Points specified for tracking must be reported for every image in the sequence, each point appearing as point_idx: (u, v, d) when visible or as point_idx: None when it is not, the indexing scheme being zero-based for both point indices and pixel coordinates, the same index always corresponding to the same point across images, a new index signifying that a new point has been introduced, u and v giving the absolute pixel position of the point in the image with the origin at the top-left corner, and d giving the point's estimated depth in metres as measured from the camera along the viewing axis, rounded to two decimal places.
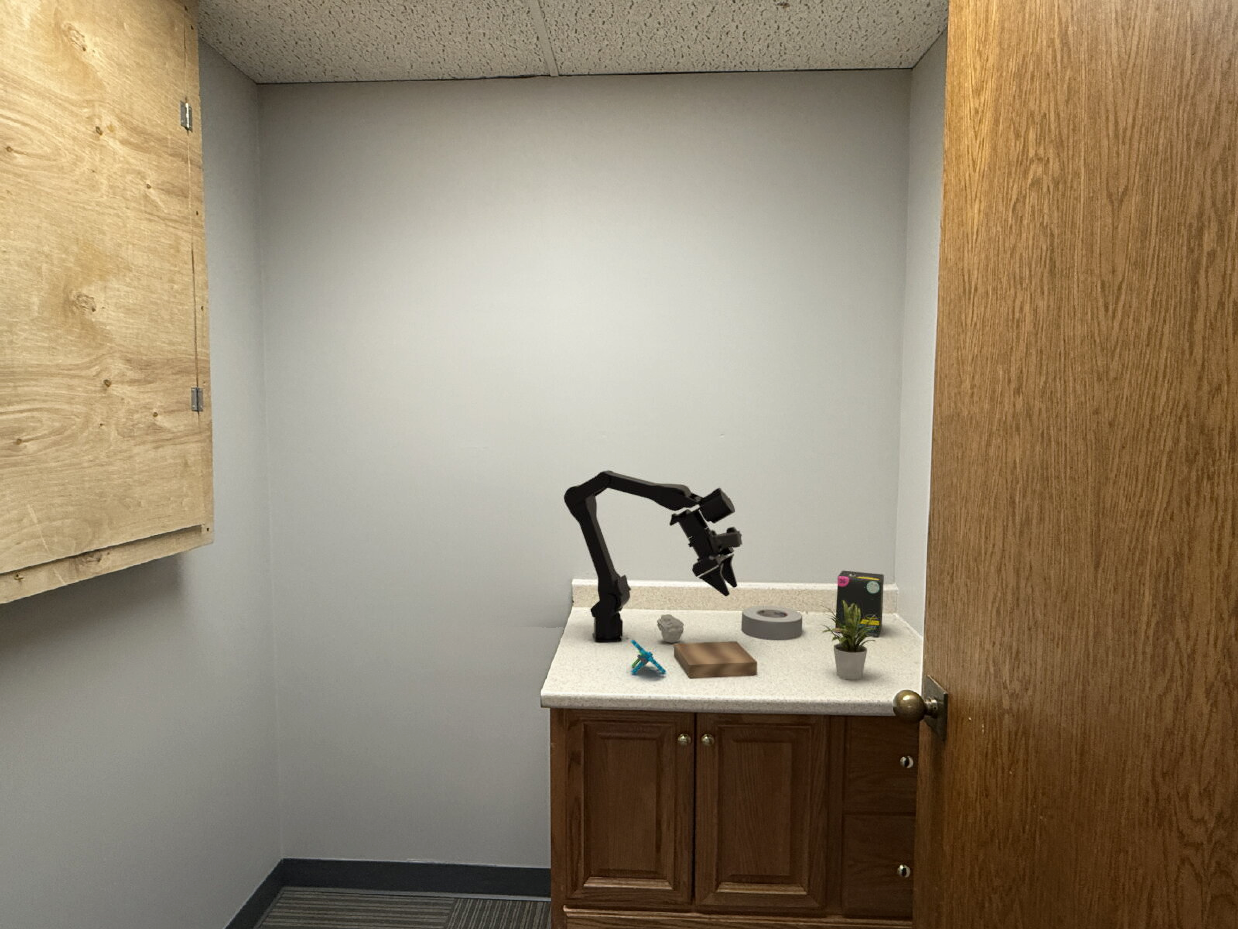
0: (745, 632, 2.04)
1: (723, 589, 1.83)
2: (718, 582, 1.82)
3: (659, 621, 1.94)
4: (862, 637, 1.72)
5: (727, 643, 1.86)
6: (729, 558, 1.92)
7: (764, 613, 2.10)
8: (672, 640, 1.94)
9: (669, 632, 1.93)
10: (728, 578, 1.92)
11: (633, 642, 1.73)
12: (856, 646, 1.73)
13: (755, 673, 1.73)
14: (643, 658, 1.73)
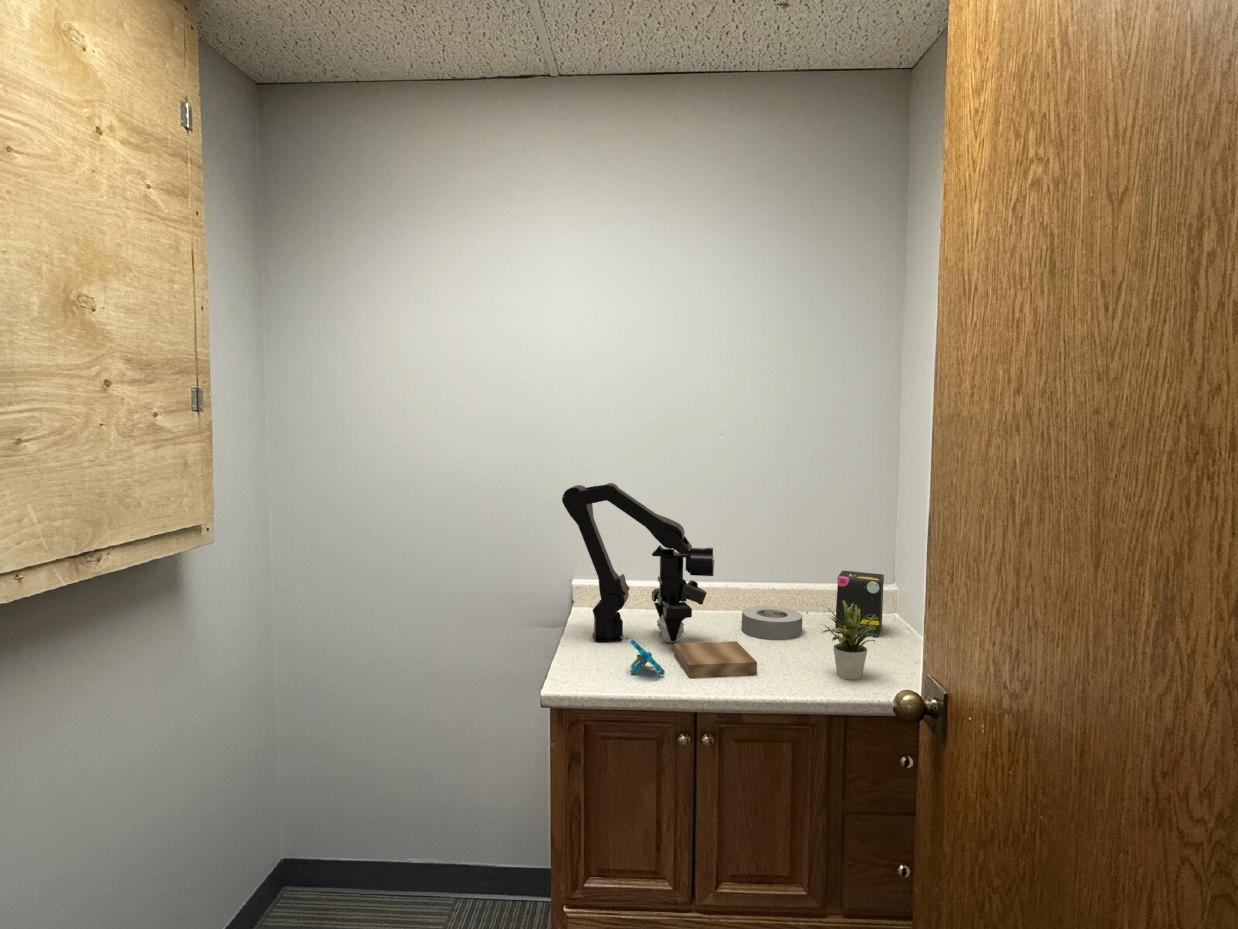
0: (745, 632, 2.04)
1: (674, 634, 1.92)
2: (674, 627, 1.92)
3: (659, 621, 1.94)
4: (862, 637, 1.72)
5: (727, 643, 1.86)
6: None
7: (764, 613, 2.10)
8: None
9: None
10: None
11: (632, 642, 1.73)
12: (856, 646, 1.73)
13: (755, 673, 1.73)
14: (642, 658, 1.73)
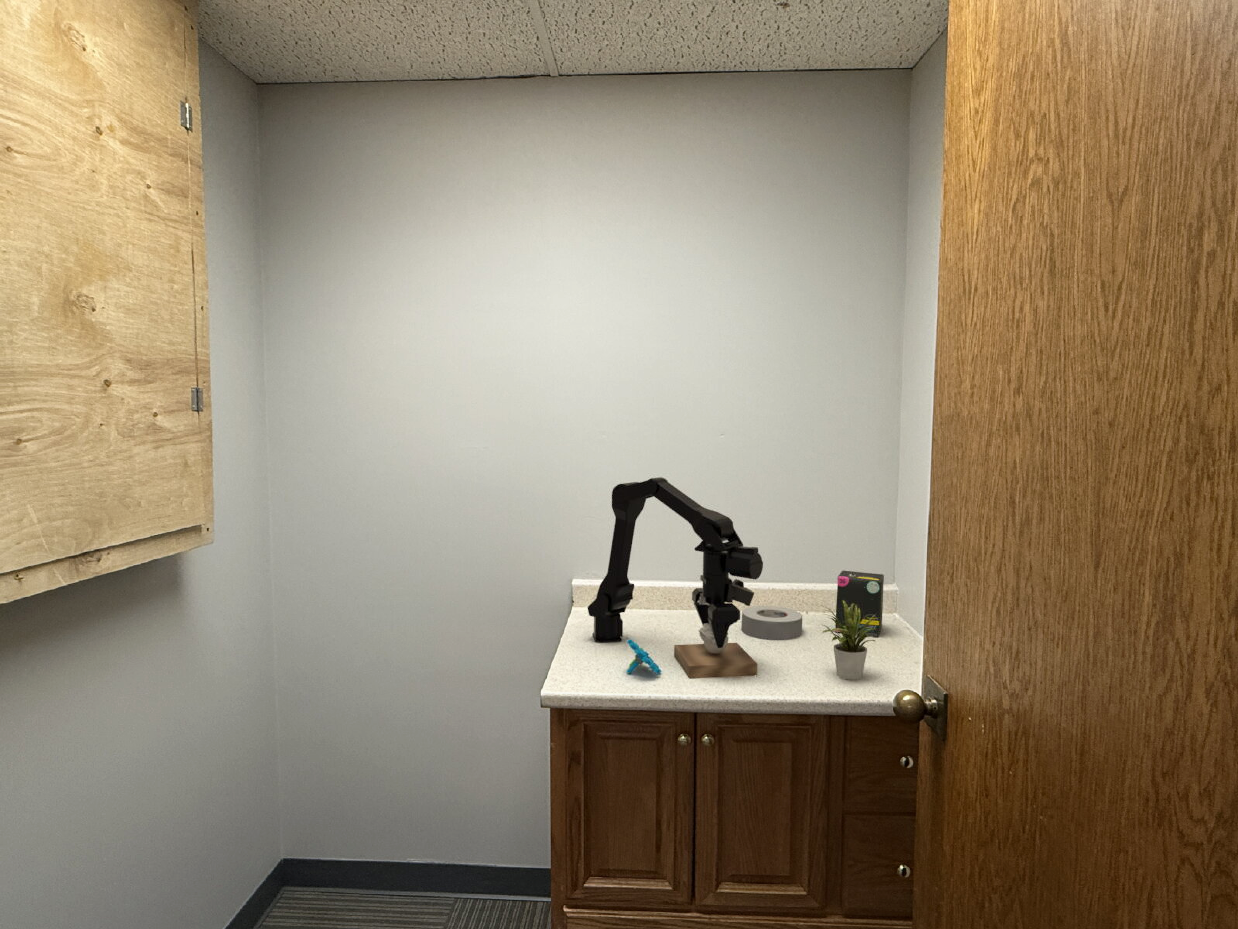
0: (745, 632, 2.04)
1: (721, 641, 1.74)
2: (721, 632, 1.73)
3: (702, 630, 1.78)
4: (862, 637, 1.72)
5: (727, 644, 1.86)
6: None
7: (764, 613, 2.10)
8: (716, 651, 1.77)
9: (713, 642, 1.76)
10: None
11: (629, 641, 1.73)
12: (856, 646, 1.73)
13: (755, 674, 1.73)
14: (638, 658, 1.73)
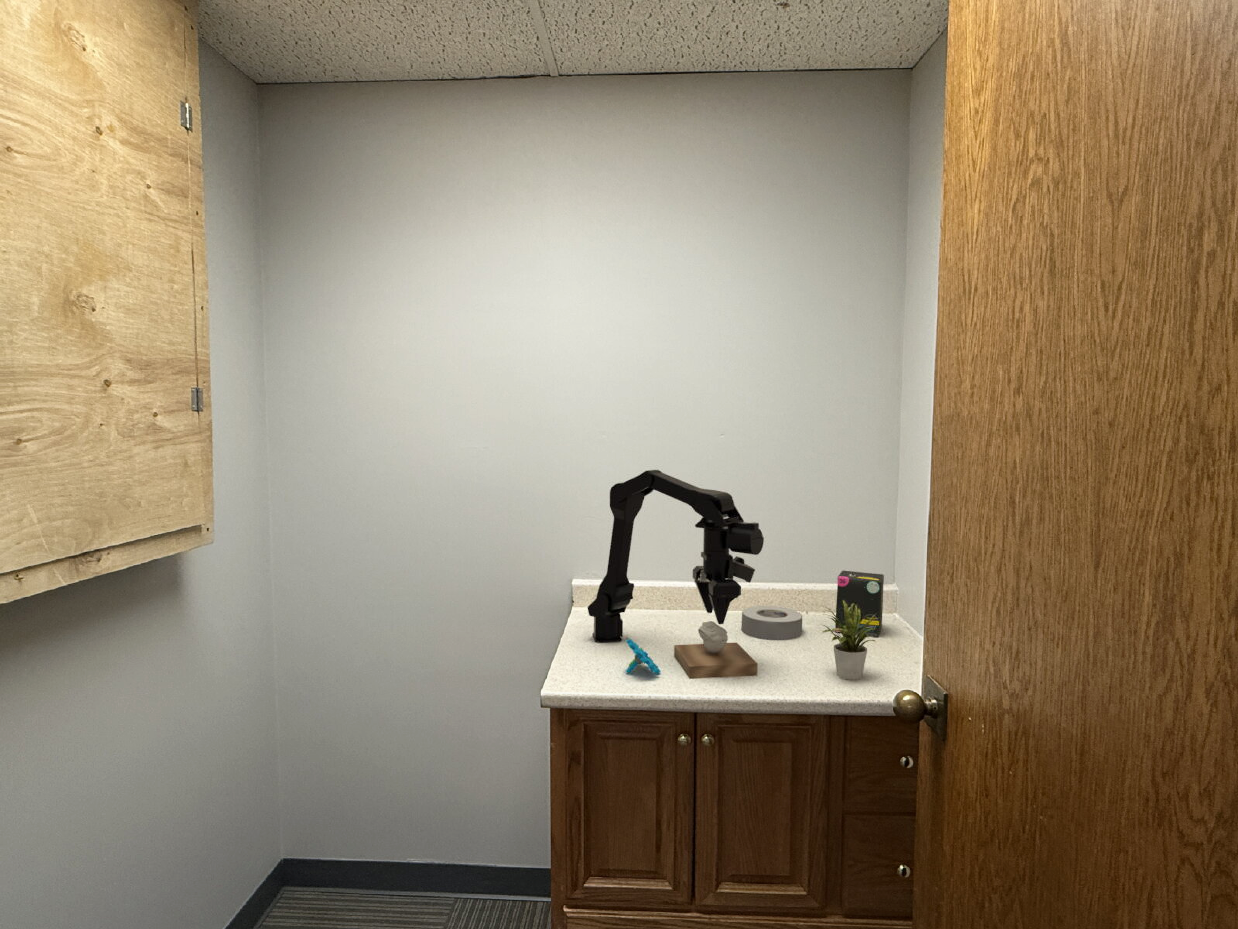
0: (745, 632, 2.04)
1: (721, 617, 1.73)
2: (722, 608, 1.73)
3: (701, 629, 1.78)
4: (862, 637, 1.72)
5: (727, 644, 1.86)
6: None
7: (764, 613, 2.10)
8: (716, 649, 1.78)
9: (713, 640, 1.77)
10: (707, 602, 1.83)
11: (628, 641, 1.73)
12: (856, 646, 1.73)
13: (755, 674, 1.73)
14: (638, 658, 1.73)
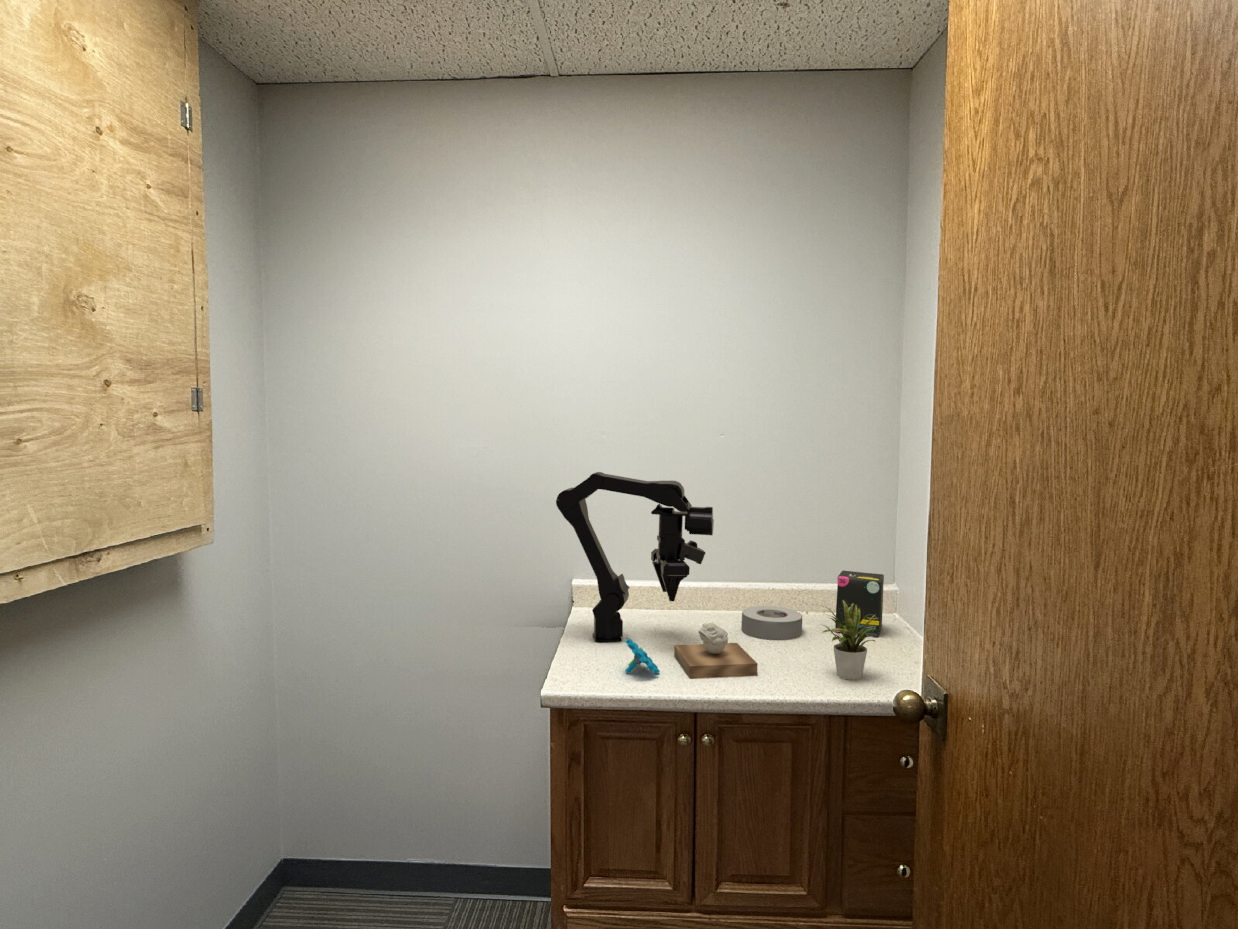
0: (745, 632, 2.04)
1: (672, 594, 1.90)
2: (673, 587, 1.89)
3: (702, 631, 1.77)
4: (862, 637, 1.72)
5: (727, 644, 1.86)
6: None
7: (764, 613, 2.10)
8: (716, 651, 1.77)
9: (714, 642, 1.76)
10: (663, 581, 1.99)
11: (627, 641, 1.73)
12: (856, 646, 1.73)
13: (755, 674, 1.73)
14: (637, 658, 1.73)
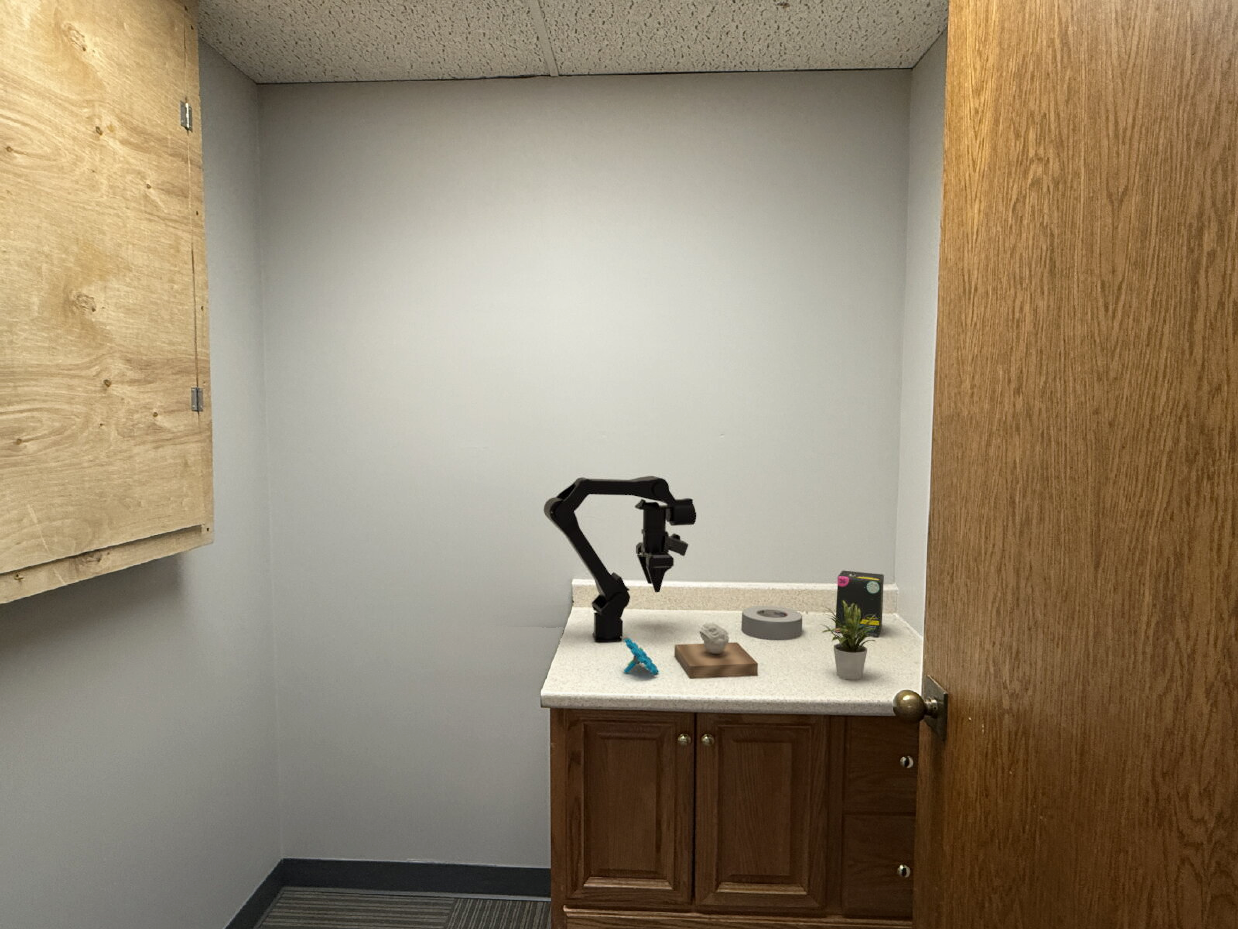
0: (745, 632, 2.04)
1: (658, 585, 1.96)
2: (658, 578, 1.96)
3: (703, 631, 1.77)
4: (862, 637, 1.72)
5: (727, 644, 1.86)
6: None
7: (764, 613, 2.10)
8: (718, 651, 1.77)
9: (715, 643, 1.76)
10: (648, 573, 2.06)
11: (626, 641, 1.74)
12: (856, 646, 1.73)
13: (756, 674, 1.73)
14: (636, 657, 1.73)
